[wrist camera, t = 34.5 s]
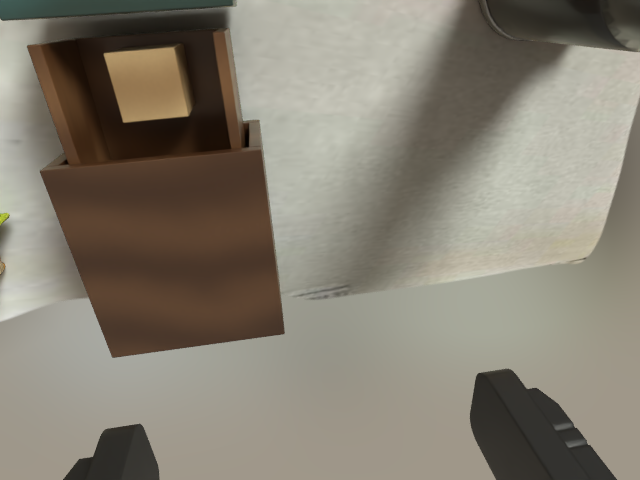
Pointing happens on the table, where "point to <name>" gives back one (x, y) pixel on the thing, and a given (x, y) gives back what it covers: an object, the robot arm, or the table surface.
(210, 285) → the cabinet
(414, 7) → the table surface
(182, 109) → the beech block
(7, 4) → the drawer
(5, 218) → the bird rattle
